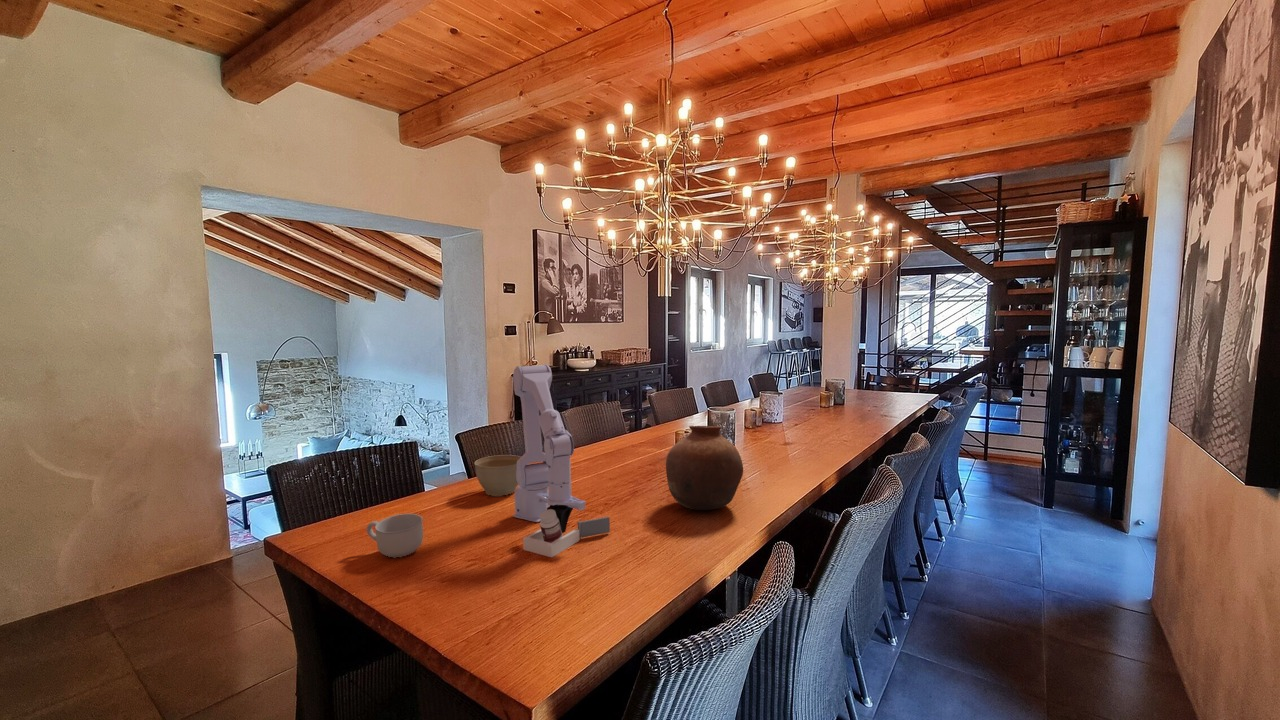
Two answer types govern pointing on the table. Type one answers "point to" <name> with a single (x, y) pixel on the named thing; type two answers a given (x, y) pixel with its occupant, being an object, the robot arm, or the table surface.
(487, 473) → the planter bowl
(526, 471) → the robot arm
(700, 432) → the pottery
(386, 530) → the teacup
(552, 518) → the pill bottle
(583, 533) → the channel cover
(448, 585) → the table surface
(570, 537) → the channel
